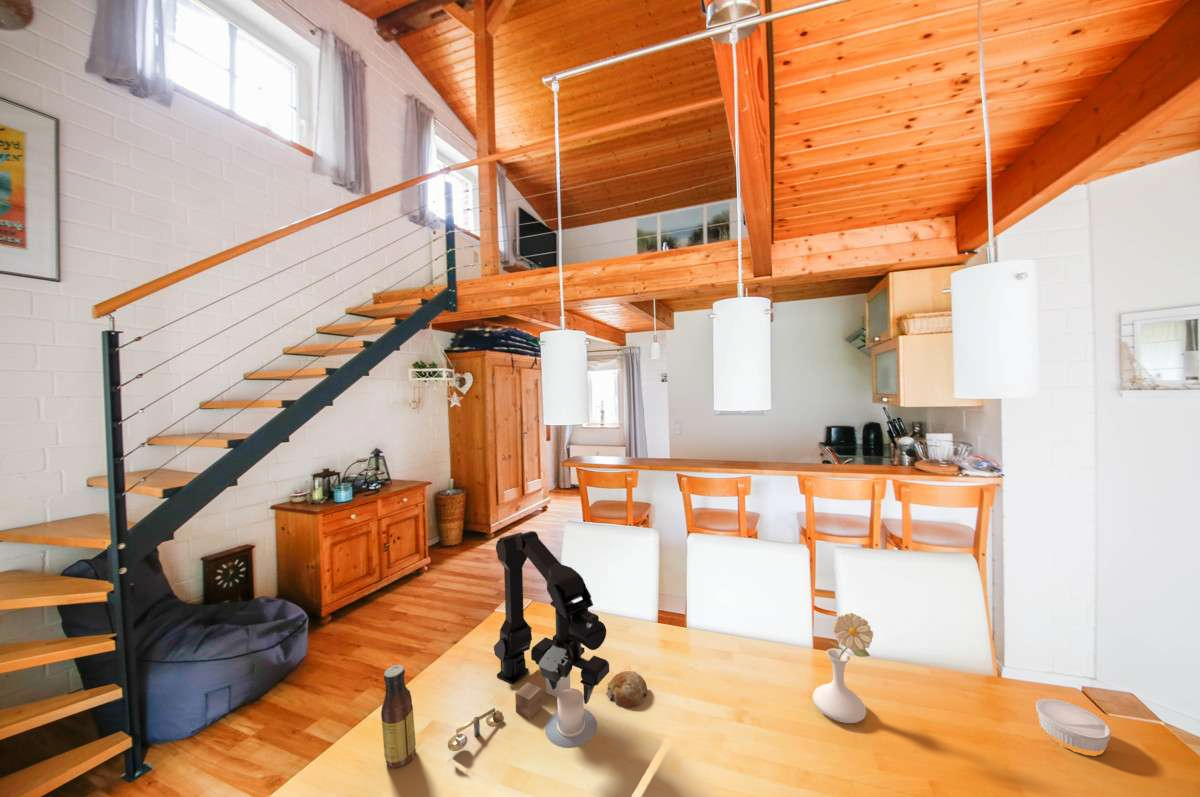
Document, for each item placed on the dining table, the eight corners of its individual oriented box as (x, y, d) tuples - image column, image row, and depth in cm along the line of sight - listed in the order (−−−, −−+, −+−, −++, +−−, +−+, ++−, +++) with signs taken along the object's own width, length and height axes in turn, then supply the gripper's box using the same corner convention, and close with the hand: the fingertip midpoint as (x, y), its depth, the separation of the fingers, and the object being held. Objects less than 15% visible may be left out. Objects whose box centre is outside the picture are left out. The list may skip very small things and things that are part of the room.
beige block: (546, 697, 113) (545, 674, 112) (556, 686, 116) (556, 664, 116) (559, 703, 110) (559, 680, 110) (570, 692, 114) (569, 670, 114)
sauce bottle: (407, 741, 100) (404, 655, 99) (421, 755, 96) (418, 666, 95) (378, 760, 94) (374, 671, 94) (391, 776, 91) (387, 683, 90)
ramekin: (1100, 770, 88) (1100, 745, 88) (1026, 732, 98) (1026, 709, 98) (1118, 748, 93) (1119, 724, 93) (1047, 713, 103) (1047, 691, 103)
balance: (494, 715, 107) (494, 690, 106) (506, 721, 104) (506, 696, 104) (444, 760, 94) (443, 732, 94) (456, 768, 92) (455, 740, 92)
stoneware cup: (551, 730, 100) (550, 701, 100) (568, 712, 106) (567, 684, 105) (574, 741, 97) (573, 711, 96) (590, 722, 102) (589, 694, 102)
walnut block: (516, 717, 106) (515, 692, 106) (528, 705, 110) (527, 682, 110) (530, 724, 104) (529, 699, 103) (542, 712, 107) (541, 688, 107)
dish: (534, 738, 99) (534, 733, 99) (566, 705, 109) (565, 700, 109) (577, 761, 93) (577, 756, 93) (606, 724, 103) (606, 719, 103)
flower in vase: (806, 712, 105) (804, 610, 104) (820, 687, 113) (819, 592, 113) (868, 741, 96) (867, 630, 95) (879, 712, 105) (878, 609, 104)
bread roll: (637, 728, 106) (651, 701, 105) (600, 706, 108) (613, 679, 107) (642, 699, 116) (654, 674, 115) (607, 679, 117) (619, 654, 117)
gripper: (513, 635, 99) (515, 702, 99) (581, 661, 89) (583, 736, 89) (545, 612, 108) (547, 674, 109) (609, 634, 98) (611, 702, 99)
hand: (570, 695), depth 101 cm, fingers open, 9 cm apart
